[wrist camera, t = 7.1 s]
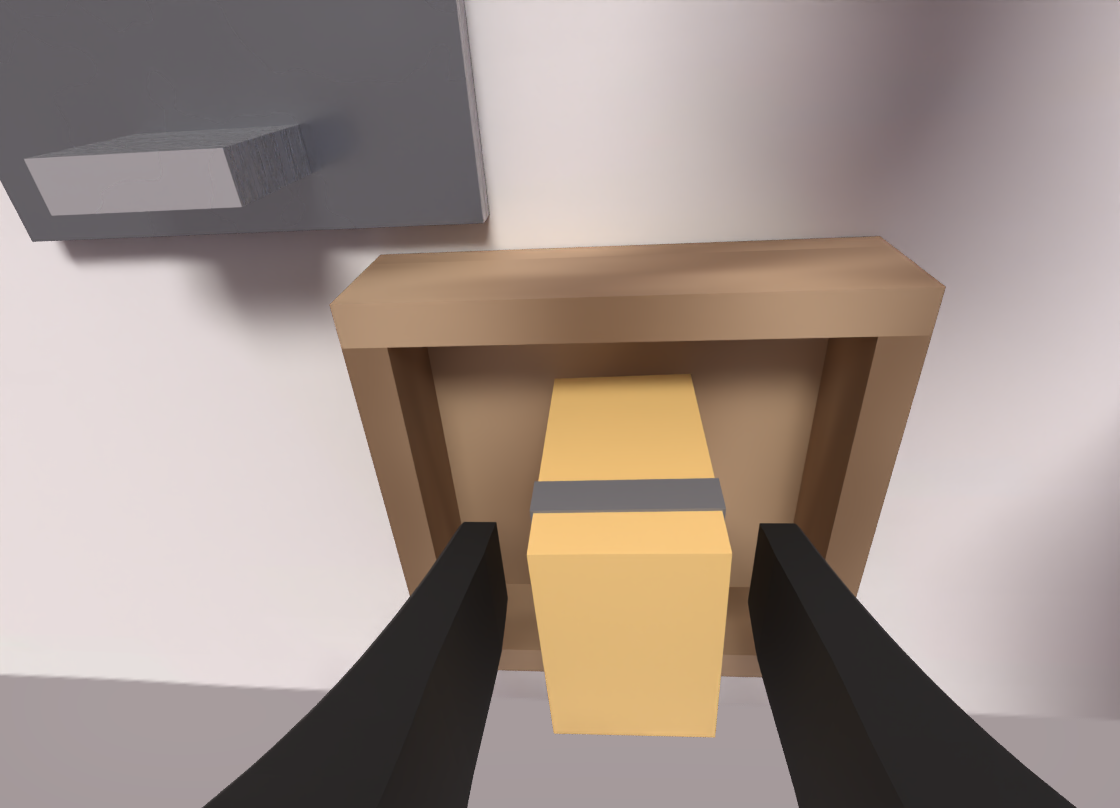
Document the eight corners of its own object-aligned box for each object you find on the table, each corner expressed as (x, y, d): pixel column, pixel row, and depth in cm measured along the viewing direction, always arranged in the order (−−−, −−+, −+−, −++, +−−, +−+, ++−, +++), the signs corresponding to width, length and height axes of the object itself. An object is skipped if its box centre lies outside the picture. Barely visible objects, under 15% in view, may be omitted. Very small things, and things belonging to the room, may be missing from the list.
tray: (880, 235, 11) (945, 286, 9) (802, 591, 16) (832, 679, 14) (380, 254, 12) (329, 304, 10) (453, 586, 17) (430, 668, 15)
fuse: (693, 371, 12) (736, 550, 8) (686, 533, 15) (717, 738, 10) (552, 376, 13) (522, 552, 8) (568, 535, 15) (551, 734, 11)
